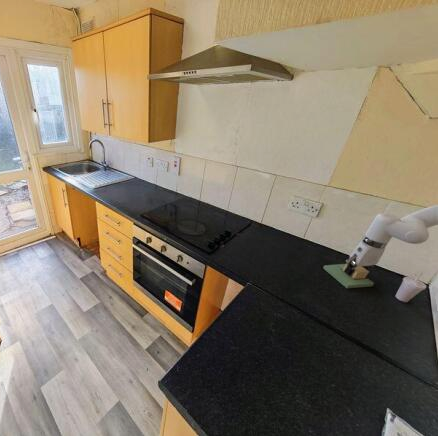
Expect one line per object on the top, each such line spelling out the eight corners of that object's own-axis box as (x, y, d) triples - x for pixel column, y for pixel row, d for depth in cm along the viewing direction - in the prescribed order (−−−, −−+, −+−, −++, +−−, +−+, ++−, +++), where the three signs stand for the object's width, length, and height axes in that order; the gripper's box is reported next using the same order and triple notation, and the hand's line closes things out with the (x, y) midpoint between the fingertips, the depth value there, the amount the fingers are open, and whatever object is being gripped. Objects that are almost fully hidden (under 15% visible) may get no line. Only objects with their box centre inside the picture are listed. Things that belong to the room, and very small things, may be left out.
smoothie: (408, 297, 96) (430, 272, 89) (414, 307, 91) (437, 282, 84) (388, 290, 99) (408, 266, 92) (392, 300, 94) (413, 275, 87)
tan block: (352, 269, 108) (356, 262, 106) (364, 278, 103) (369, 271, 101) (341, 270, 107) (345, 263, 105) (353, 279, 102) (357, 272, 100)
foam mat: (346, 266, 112) (348, 263, 111) (372, 286, 100) (374, 283, 99) (322, 268, 110) (324, 265, 109) (346, 288, 99) (348, 285, 98)
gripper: (365, 248, 91) (344, 280, 100) (401, 245, 94) (377, 277, 102) (348, 237, 98) (330, 269, 107) (382, 235, 100) (362, 266, 109)
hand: (353, 273), depth 105 cm, fingers closed on tan block, 5 cm apart
